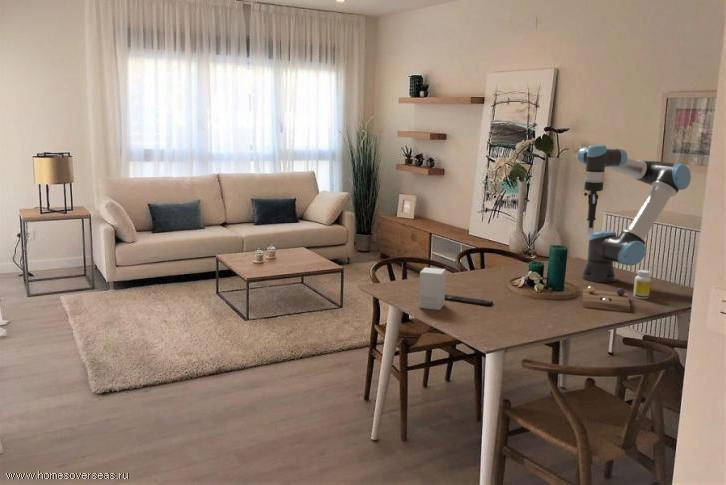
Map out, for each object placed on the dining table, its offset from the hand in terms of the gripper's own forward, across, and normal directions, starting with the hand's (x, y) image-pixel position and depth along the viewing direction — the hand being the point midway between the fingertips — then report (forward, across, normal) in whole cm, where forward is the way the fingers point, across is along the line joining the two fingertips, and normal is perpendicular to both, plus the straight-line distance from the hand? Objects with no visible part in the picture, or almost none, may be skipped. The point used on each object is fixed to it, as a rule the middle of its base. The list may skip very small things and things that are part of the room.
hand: (590, 234), depth 281 cm
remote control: (+25, +34, -50) cm, 66 cm away
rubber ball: (+22, +12, +13) cm, 28 cm away
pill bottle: (+26, +3, +23) cm, 35 cm away
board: (+26, +17, +7) cm, 31 cm away
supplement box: (+24, +46, -62) cm, 81 cm away
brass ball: (+21, +13, +1) cm, 25 cm away
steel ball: (+24, +21, +7) cm, 32 cm away
